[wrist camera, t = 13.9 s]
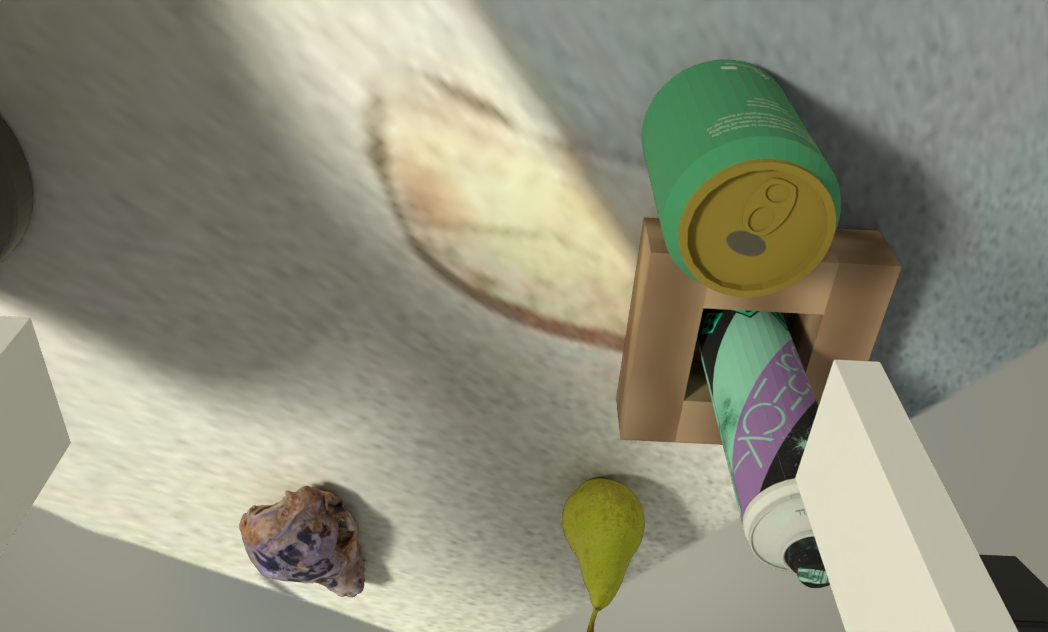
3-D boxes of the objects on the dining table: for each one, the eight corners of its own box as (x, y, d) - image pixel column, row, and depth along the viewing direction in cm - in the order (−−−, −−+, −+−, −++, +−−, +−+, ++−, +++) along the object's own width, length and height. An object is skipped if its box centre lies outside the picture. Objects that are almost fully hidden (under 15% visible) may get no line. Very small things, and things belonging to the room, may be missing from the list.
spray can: (794, 331, 57) (898, 589, 40) (717, 367, 59) (787, 628, 42) (758, 270, 54) (853, 519, 38) (678, 310, 56) (736, 565, 40)
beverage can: (615, 160, 50) (635, 274, 40) (682, 29, 46) (722, 121, 36) (739, 208, 52) (787, 329, 42) (814, 86, 48) (887, 188, 38)
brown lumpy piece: (391, 564, 71) (379, 631, 66) (303, 582, 72) (285, 648, 67) (328, 460, 64) (311, 525, 59) (233, 481, 66) (208, 546, 61)
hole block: (616, 398, 60) (620, 439, 57) (643, 217, 52) (651, 252, 49) (820, 409, 61) (836, 450, 57) (879, 230, 53) (901, 266, 49)
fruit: (649, 465, 64) (670, 606, 54) (626, 519, 67) (642, 661, 57) (571, 452, 63) (578, 592, 53) (552, 507, 67) (555, 649, 57)
